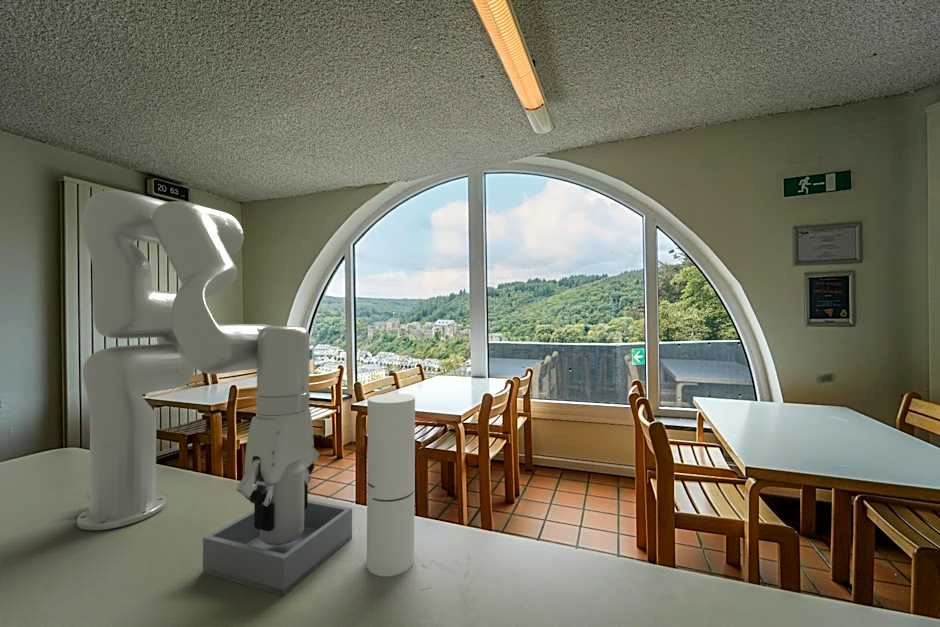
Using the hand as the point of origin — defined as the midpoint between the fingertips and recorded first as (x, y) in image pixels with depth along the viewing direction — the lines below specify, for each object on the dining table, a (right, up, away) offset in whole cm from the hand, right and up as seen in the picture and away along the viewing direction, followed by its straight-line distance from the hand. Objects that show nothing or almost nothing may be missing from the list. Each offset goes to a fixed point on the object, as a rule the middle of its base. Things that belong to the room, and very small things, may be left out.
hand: (282, 516), depth 64 cm
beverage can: (0, -3, 0) cm, 3 cm away
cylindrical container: (+18, -6, -2) cm, 19 cm away
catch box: (0, -6, 0) cm, 6 cm away
